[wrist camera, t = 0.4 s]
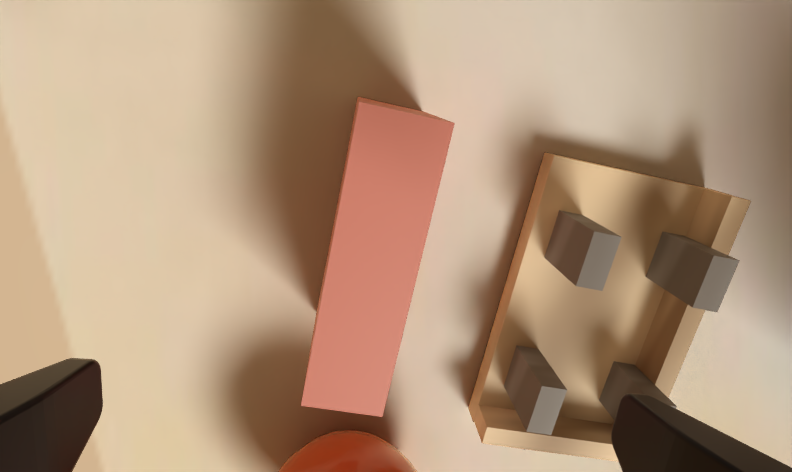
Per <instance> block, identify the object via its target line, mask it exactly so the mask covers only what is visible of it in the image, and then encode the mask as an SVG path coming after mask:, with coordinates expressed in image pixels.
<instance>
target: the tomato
mask: <svg viewBox="0 0 792 472" xmlns="http://www.w3.org/2000/svg"><path fill="white" fill-rule="evenodd" d="M278 472H417V470H416V469H415V468H414V466H413V465H412V464H411V462H410V461H409V460H408V459H407V458H406V457H405V456H404V455H403V454H402V453H401V452H400V451H399V450H398V449H397V448H396V447H394V446H393V445H391V444H390V443H388V442H387V441H385V440H383V439H381V438H379V437H377V436H375V435H373V434H371V433H366V432H361V431H356V430H346V431H334V432H331V433H328V434H325V435H323V436H320V437H317V438H315V439H314V440H312V441H311V442H309V443H308V444H307V445H305V446H304V447H303V448H301V449H300V450H298V451H297V452H296V453H294V454H293V455H292V456H290V457H289V458H288V459H287V461H286V462H285V463H284V465H283V466H282V467H281V469H280V470H279V471H278Z"/></svg>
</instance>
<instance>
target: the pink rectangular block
mask: <svg viewBox="0 0 792 472" xmlns="http://www.w3.org/2000/svg"><path fill="white" fill-rule="evenodd" d="M453 127H454V123H453V122H450V121H447V120H445V119H442V118H439V117H436V116H434V115H431V114H428V113H426V112H423V111H419V110H415V109H410V108H406V107H401V106H397V105H392V104H388V103H384V102H379V101H375V100H370V99H366V98H361V97H358V98H357V104H356V109H355V114H354V119H353V125H352V130H351V135H350V140H349V145H348V151H347V156H346V161H345V166H344V172H343V177H342V182H341V187H340V193H339V198H338V203H337V208H336V213H335V219H334V224H333V229H332V234H331V240H330V245H329V250H328V255H327V260H326V266H325V271H324V276H323V281H322V287H321V292H320V297H319V302H318V308H317V313H316V319H315V325H314V331H313V337H312V343H311V348H310V354H309V360H308V366H307V372H306V378H305V384H304V390H303V396H302V402H301V406H306V407H314V408H321V409H328V410H336V411H343V412H350V413H357V414H365V415H372V416H379V417H383V412H384V408H385V404H386V400H387V396H388V392H389V388H390V384H391V380H392V376H393V372H394V368H395V364H396V359H397V355H398V351H399V347H400V343H401V339H402V335H403V331H404V327H405V323H406V319H407V315H408V311H409V307H410V302H411V298H412V294H413V290H414V286H415V282H416V278H417V274H418V270H419V266H420V262H421V258H422V254H423V250H424V245H425V241H426V237H427V233H428V229H429V225H430V221H431V217H432V213H433V209H434V205H435V201H436V197H437V193H438V188H439V184H440V180H441V176H442V172H443V168H444V164H445V160H446V156H447V152H448V148H449V144H450V140H451V136H452V131H453Z"/></svg>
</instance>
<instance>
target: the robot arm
mask: <svg viewBox="0 0 792 472" xmlns="http://www.w3.org/2000/svg"><path fill="white" fill-rule="evenodd" d="M102 406H103V399H102V382H101V368H100V365H99V363H98V362H97V361H96V360H93V359H79V358H70V359H66V360H64V361H61V362H58V363H56V364H53V365H51V366H48V367H45V368H43V369H40V370H37V371H35V372H32V373H29V374H27V375H24V376H21V377H19V378H16V379H13V380H11V381H8V382H6V383H3V384H0V472H72V471H73V469H74V467H75V465H76V463H77V461H78V459H79V457H80V455H81V453H82V451H83V449H84V447H85V446H86V443H87V442H88V440H89V438H90V436H91V434H92V432H93V430H94V428H95V426H96V424H97V422H98V420H99V418H100V415H101V412H102ZM611 441H612V445H613V448H614V451H615V453H616V456H617V458H618V461H619V463H620V466H621V468H622V471H623V472H792V468H791V467H789V466H787V465H785V464H783V463H781V462H779V461H777V460H775V459H773V458H771V457H769V456H767V455H766V454H764V453H762V452H760V451H758V450H756V449H754V448H752V447H750V446H748V445H746V444H744V443H742V442H740V441H738V440H736V439H734V438H732V437H730V436H728V435H726V434H724V433H722V432H720V431H718V430H716V429H714V428H713V427H711V426H709V425H707V424H705V423H703V422H701V421H699V420H697V419H695V418H693V417H691V416H689V415H687V414H685V413H683V412H681V411H679V410H677V409H675V408H673V407H671V406H669V405H667V404H665V403H663V402H661V401H660V400H658V399H656V398H654V397H652V396H649V395H646V394H633V393H627V394H625V395H623V396H622V398H621V400H620V402H619V406H618V410H617V413H616V417H615V421H614V424H613V428H612V433H611Z"/></svg>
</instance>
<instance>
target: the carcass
mask: <svg viewBox="0 0 792 472" xmlns="http://www.w3.org/2000/svg"><path fill="white" fill-rule="evenodd" d="M750 202H751V201H750V200H746V199H743V198H739V197H736V196H732V195H729V194H725V193H722V192H719V191H715V190H712V189H708V188H704V187H700V186H695V185H691V184H686V183H682V182H677V181H673V180H668V179H664V178H659V177H655V176H650V175H646V174H641V173H637V172H632V171H628V170H623V169H619V168H614V167H610V166H605V165H601V164H596V163H592V162H587V161H582V160H578V159H573V158H569V157H564V156H560V155H555V154H551V153H546V152H545V153H544V156H543V159H542V163H541V166H540V169H539V173H538V176H537V179H536V183H535V186H534V190H533V193H532V196H531V200H530V203H529V206H528V210H527V213H526V216H525V220H524V223H523V226H522V230H521V233H520V236H519V240H518V243H517V247H516V250H515V253H514V257H513V260H512V263H511V267H510V270H509V273H508V277H507V280H506V283H505V287H504V290H503V293H502V297H501V300H500V304H499V307H498V310H497V314H496V317H495V320H494V324H493V327H492V330H491V334H490V337H489V340H488V344H487V347H486V351H485V354H484V357H483V361H482V364H481V367H480V371H479V374H478V377H477V381H476V384H475V387H474V391H473V394H472V397H471V401H470V404H469V408H468V409H469V411H470V414H471V417H472V420H473V422H475V425H476V428H477V430H478V433H479V436H480V439H481V442H482V443H483V444H491V445H498V446H505V447H513V448H520V449H528V450H535V451H543V452H550V453H558V454H565V455H573V456H580V457H588V458H595V459H603V460H610V461H618V458H617V456H616V453H615V451H614V448H613V445H612V441H611V433H612V428H613V424H614V421H615V417H616V413H617V410H618V406H619V402H620V400H621V398H622V396H623V395H625V394H627V393H633V394H646V395H649V396H652V397H654V398H656V399H658V400H660V401H661V402H663V403H665V404H667V405H669V406H671V407H673V408H675V409H676V407H677V406H676V405H675V404H674V403H673V402H672V401H671V400H670V399H669V398H668V397H669V395H670V392H671V390H672V388H673V385H674V383H675V381H676V378H677V376H678V373H679V371H680V369H681V366H682V364H683V362H684V359H685V357H686V354H687V352H688V350H689V347H690V345H691V343H692V340H693V338H694V335H695V333H696V331H697V328H698V326H699V324H700V321H701V319H702V316H703V314H704V312H705V310H708V311H714V312H718V309H719V307H720V305H721V302H722V300H723V298H724V295H725V293H726V291H727V288H728V286H729V284H730V281H731V279H732V277H733V274H734V272H735V270H736V267H737V265H738V263H739V260H737V259H735V258H732V257H730V256H728V255H729V252H730V250H731V248H732V245H733V243H734V240H735V238H736V236H737V233H738V231H739V229H740V226H741V224H742V221H743V219H744V217H745V214H746V212H747V210H748V207H749V205H750ZM618 462H619V461H618Z"/></svg>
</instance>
